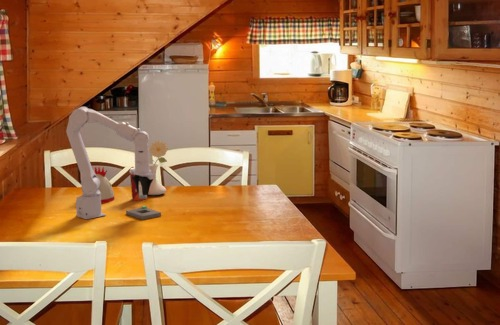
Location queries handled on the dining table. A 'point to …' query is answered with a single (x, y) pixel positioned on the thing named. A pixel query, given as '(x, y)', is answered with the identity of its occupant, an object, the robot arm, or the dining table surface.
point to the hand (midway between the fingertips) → (142, 194)
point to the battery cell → (141, 192)
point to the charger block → (143, 213)
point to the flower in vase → (157, 151)
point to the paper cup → (134, 188)
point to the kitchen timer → (104, 186)
